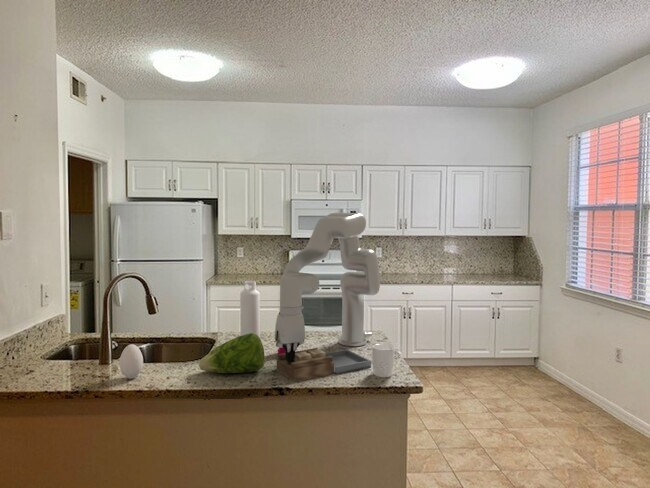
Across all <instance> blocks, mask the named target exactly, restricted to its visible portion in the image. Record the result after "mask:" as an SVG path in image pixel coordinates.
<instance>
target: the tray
mask: <svg viewBox="0 0 650 488" xmlns="http://www.w3.org/2000/svg"><path fill="white" fill-rule="evenodd" d="M326 356H332V357H333V362H334V374H335V375H340V374H344V373H349V372H354V371H359V370H364V369H368V368H372V360H371V359H368V358H366V357H364V356H362V355H360V354H357V353H356V352H354V351H352V350H349V349H342V350H336V351H331V352H325V357H326Z"/></svg>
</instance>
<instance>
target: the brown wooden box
mask: <svg viewBox="0 0 650 488" xmlns="http://www.w3.org/2000/svg"><path fill="white" fill-rule="evenodd" d="M318 349H319V348H316V347H315V348H308V349H303V350H296V351H295V353H300V352H307V353H309V351H312V350H318ZM276 370H277V371H278V372H280V373H281V374H283V376H285V377H286V378H288V379H289V380H291V381H292V382H293V383H294V382H298V381H304V380H309V379H313V378H319V377H324V376H328V375H329V376H330V375H334V374H335V373H334V362H333V357H332V356H326V357H320V358H315V359H309V360H304V361H298V362H296V361H295V360H294V362H292V363H289V362H287V361H286V353H284V354H278V353H277V358H276Z"/></svg>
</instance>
